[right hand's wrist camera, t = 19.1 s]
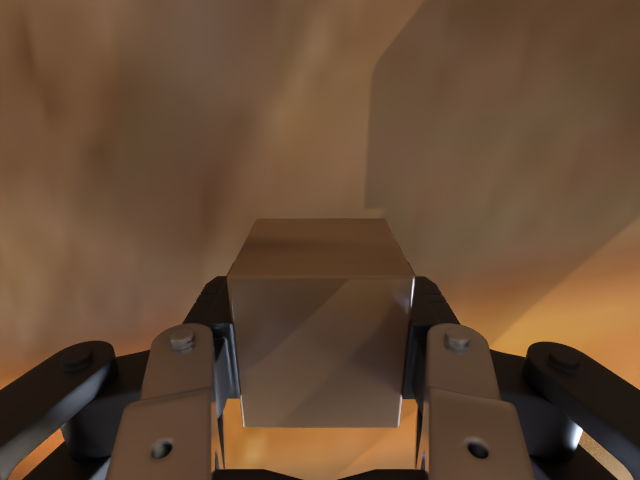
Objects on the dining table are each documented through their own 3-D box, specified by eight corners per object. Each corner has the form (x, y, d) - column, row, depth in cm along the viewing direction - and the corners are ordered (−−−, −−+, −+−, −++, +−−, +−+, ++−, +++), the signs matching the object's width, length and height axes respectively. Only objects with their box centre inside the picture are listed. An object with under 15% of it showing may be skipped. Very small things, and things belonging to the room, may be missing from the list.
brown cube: (377, 335, 13) (399, 429, 9) (264, 335, 13) (241, 429, 9) (385, 217, 12) (416, 275, 8) (255, 217, 12) (225, 276, 8)
